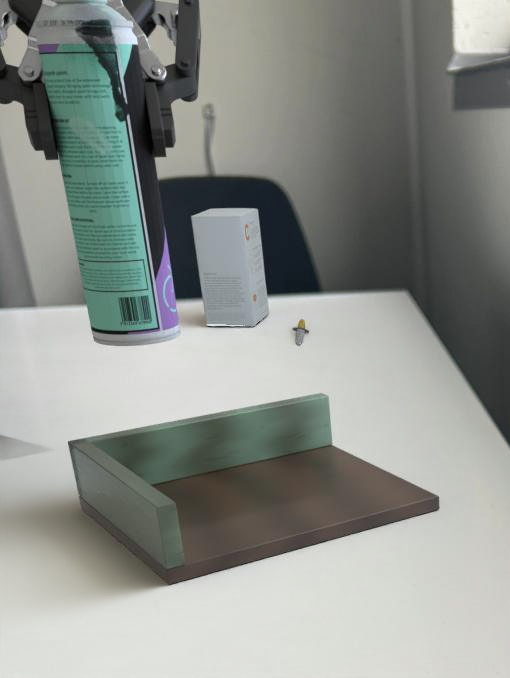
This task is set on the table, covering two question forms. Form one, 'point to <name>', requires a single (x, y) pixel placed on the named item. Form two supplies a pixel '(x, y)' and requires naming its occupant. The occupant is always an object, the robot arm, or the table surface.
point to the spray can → (108, 171)
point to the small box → (231, 265)
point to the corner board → (235, 487)
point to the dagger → (300, 331)
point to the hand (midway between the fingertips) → (105, 147)
